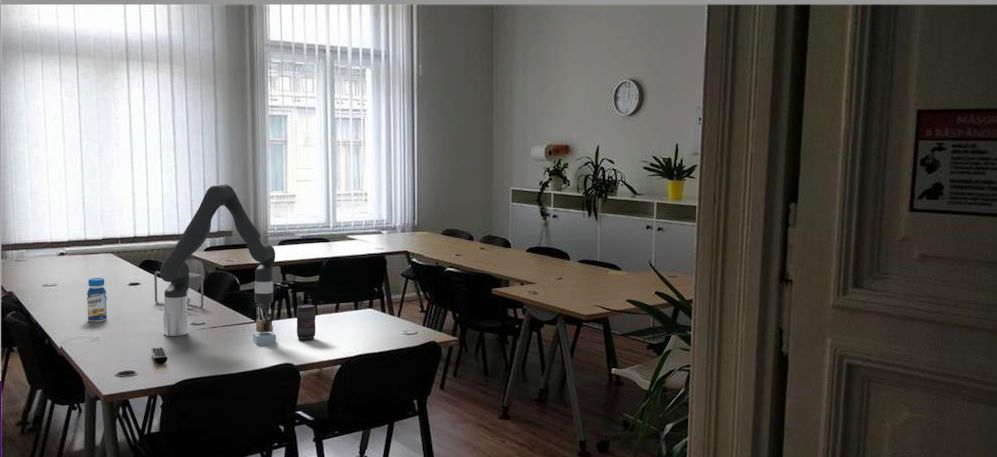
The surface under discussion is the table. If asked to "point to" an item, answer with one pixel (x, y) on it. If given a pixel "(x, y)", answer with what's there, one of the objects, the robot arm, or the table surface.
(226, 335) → the table surface
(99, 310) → the beverage bottle
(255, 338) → the slate base block
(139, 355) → the table surface
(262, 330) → the walnut cube
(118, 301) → the table surface
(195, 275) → the newton's cradle
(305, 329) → the camera lens
